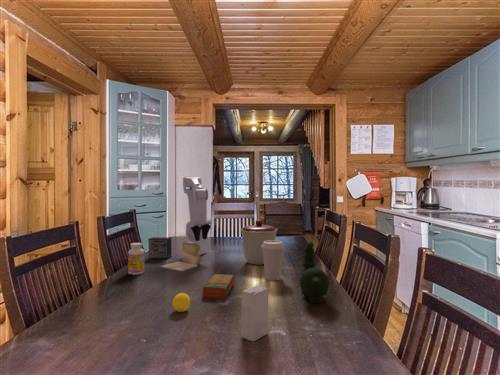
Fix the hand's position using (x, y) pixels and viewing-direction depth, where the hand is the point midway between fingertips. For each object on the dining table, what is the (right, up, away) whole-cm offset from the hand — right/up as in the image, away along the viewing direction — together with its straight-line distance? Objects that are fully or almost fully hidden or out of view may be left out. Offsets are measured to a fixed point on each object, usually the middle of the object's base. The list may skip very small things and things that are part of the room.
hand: (201, 239), depth 168 cm
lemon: (+4, -12, -65) cm, 66 cm away
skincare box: (+26, -12, -82) cm, 87 cm away
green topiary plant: (+46, -12, -53) cm, 71 cm away
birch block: (-4, -11, -6) cm, 13 cm away
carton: (+13, -12, -47) cm, 50 cm away
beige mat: (-8, -11, -12) cm, 18 cm away
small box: (-22, -11, +6) cm, 26 cm away
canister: (+29, -11, -4) cm, 31 cm away
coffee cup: (+34, -11, -32) cm, 48 cm away
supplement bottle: (-25, -11, -23) cm, 36 cm away
